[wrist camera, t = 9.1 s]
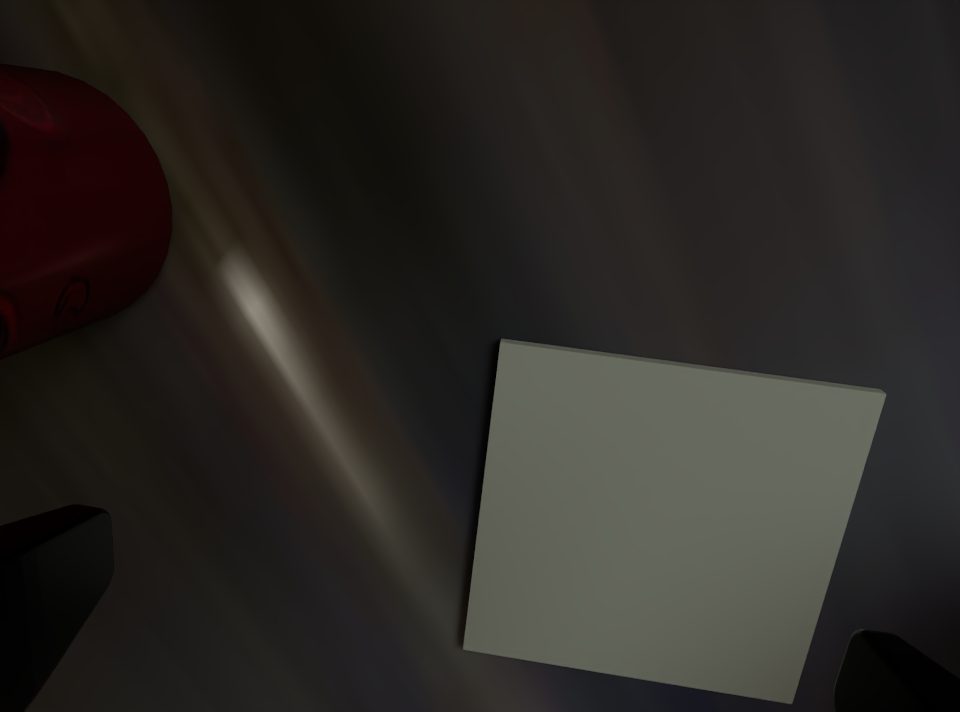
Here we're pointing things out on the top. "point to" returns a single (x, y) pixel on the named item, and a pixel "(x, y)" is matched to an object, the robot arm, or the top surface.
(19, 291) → the soda can
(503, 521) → the rubber mat
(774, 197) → the top surface
